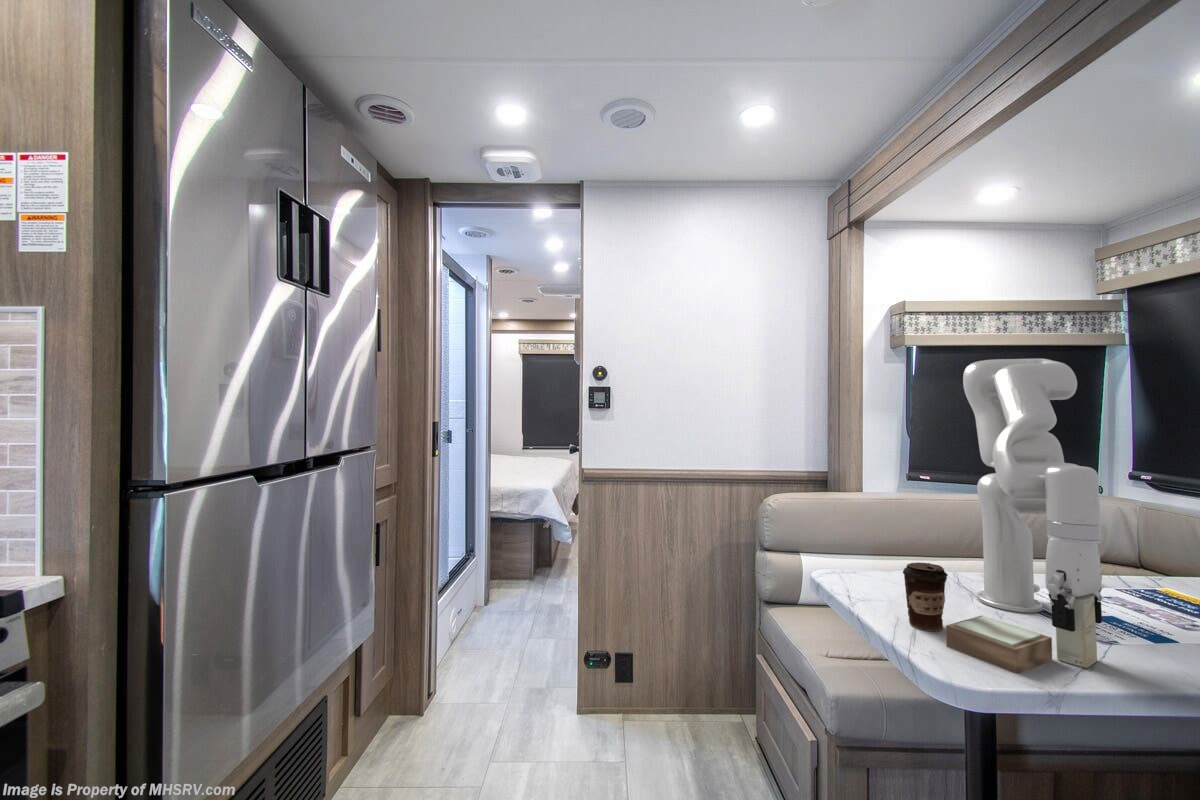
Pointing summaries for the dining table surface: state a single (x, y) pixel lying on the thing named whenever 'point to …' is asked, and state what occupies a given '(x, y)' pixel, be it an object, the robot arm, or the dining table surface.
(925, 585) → the coffee cup
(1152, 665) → the dining table surface
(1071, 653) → the skincare box
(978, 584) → the dining table surface
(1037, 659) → the walnut plinth
